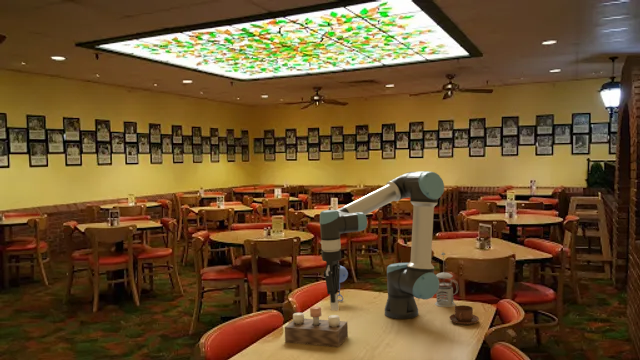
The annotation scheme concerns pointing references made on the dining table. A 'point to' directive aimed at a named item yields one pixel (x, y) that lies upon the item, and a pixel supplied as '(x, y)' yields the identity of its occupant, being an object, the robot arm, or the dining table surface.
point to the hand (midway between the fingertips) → (334, 309)
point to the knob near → (333, 320)
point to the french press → (445, 290)
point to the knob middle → (315, 314)
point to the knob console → (316, 333)
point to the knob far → (298, 318)
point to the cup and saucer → (464, 315)
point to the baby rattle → (342, 278)
